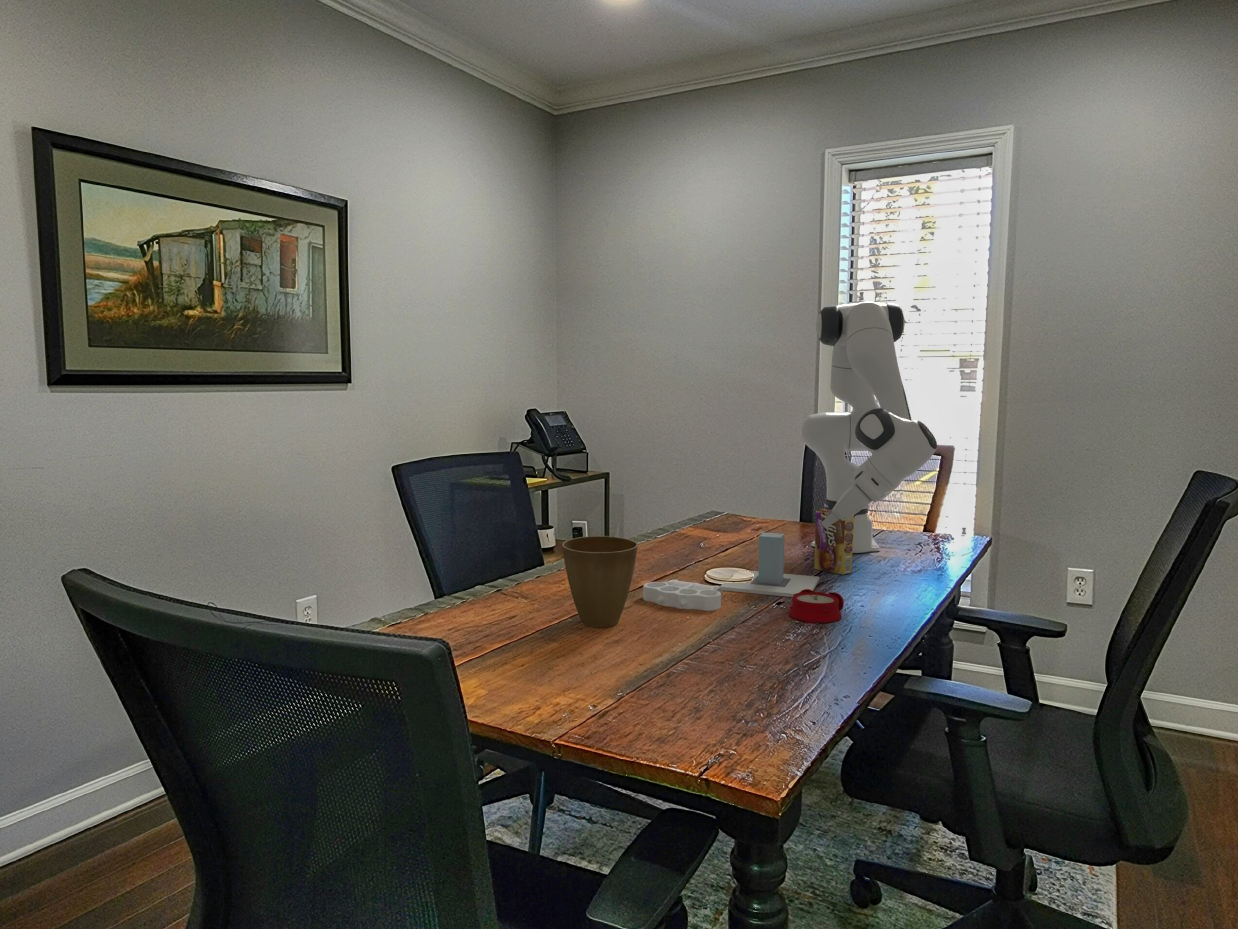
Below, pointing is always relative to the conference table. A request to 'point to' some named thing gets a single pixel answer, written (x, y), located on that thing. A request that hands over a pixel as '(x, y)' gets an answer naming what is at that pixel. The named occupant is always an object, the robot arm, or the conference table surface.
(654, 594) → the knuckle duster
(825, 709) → the conference table surface
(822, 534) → the candy box
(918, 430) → the robot arm
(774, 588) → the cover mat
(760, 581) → the slate block
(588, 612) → the plant pot
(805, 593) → the alarm clock
